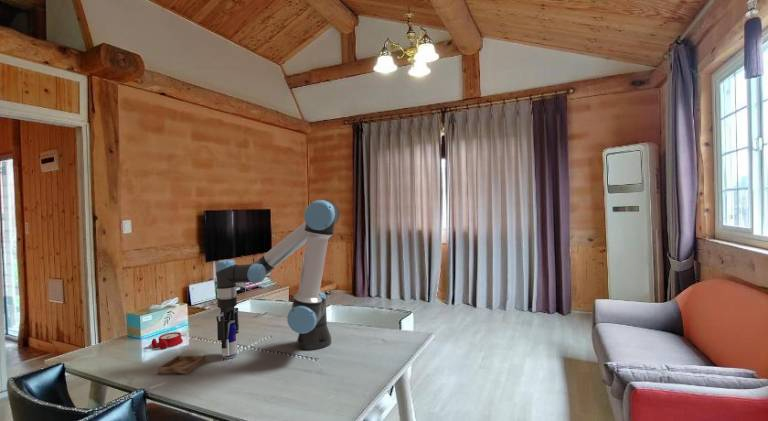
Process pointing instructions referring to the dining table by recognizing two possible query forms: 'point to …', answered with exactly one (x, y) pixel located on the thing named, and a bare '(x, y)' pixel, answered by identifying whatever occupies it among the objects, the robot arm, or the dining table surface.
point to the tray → (181, 365)
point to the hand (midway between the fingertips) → (229, 352)
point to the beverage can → (231, 339)
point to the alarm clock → (167, 340)
